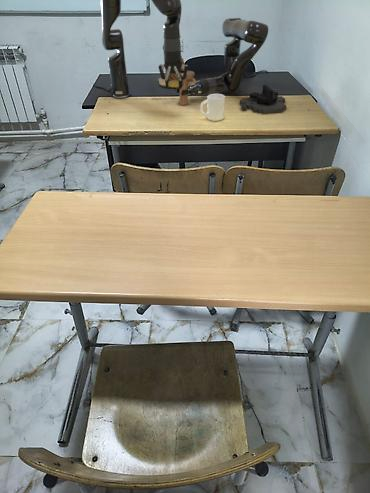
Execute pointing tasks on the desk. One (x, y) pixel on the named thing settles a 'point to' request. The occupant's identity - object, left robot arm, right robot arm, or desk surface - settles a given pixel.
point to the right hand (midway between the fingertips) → (179, 91)
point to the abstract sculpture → (264, 101)
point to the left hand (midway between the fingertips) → (174, 88)
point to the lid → (173, 83)
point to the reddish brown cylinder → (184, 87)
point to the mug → (214, 107)
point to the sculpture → (175, 77)
